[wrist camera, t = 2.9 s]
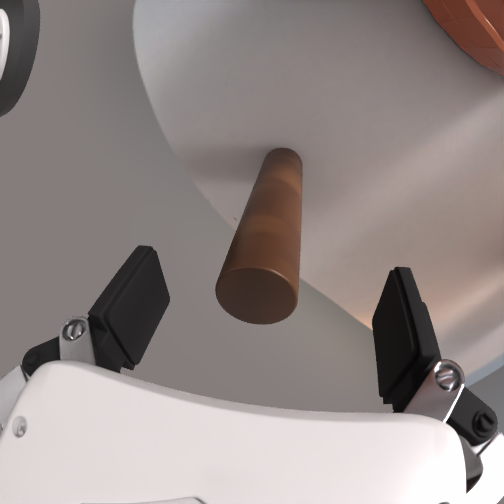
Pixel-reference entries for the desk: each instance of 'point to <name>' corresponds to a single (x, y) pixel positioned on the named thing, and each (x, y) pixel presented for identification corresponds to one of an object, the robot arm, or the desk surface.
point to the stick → (266, 246)
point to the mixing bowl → (474, 28)
